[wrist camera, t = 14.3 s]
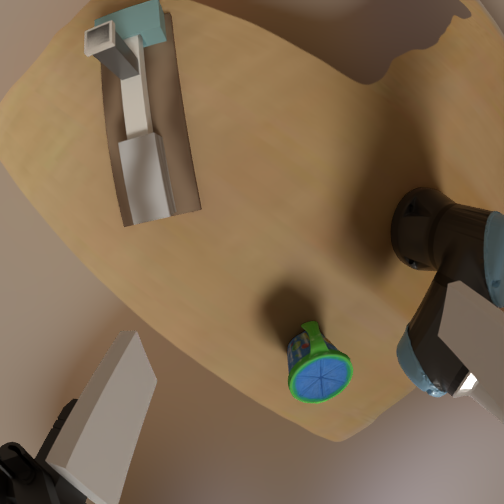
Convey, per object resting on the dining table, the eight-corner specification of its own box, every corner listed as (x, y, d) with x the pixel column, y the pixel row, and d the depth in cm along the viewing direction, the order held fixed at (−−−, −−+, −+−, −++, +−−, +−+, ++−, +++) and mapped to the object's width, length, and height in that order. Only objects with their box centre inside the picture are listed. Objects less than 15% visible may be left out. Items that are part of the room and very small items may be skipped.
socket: (164, 14, 30) (158, -2, 25) (166, 41, 32) (160, 26, 27) (106, 32, 29) (94, 20, 25) (106, 60, 31) (94, 48, 26)
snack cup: (276, 313, 46) (289, 347, 37) (335, 304, 47) (359, 334, 37) (279, 381, 51) (289, 418, 41) (330, 372, 51) (347, 405, 42)
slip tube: (143, 32, 30) (113, -17, 16) (158, 161, 36) (122, 155, 22) (123, 38, 30) (88, -7, 16) (137, 167, 36) (92, 164, 22)
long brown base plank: (171, 16, 31) (164, -3, 25) (201, 208, 41) (197, 214, 34) (103, 38, 31) (89, 22, 25) (127, 225, 40) (111, 234, 34)
